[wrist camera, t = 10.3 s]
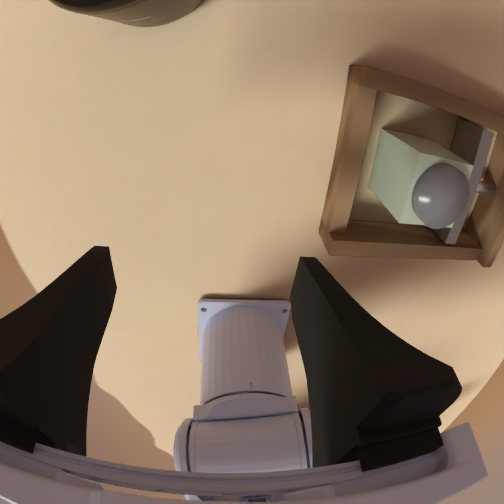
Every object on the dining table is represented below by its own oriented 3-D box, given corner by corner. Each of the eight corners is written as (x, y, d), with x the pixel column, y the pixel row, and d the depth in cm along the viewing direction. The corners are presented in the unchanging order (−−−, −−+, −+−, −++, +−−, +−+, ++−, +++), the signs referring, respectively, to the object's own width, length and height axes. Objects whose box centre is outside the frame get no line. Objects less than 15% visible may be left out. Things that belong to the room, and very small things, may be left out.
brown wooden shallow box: (468, 241, 25) (490, 267, 22) (318, 231, 23) (332, 264, 20) (508, 122, 18) (540, 138, 15) (349, 64, 16) (376, 68, 13)
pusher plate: (464, 227, 24) (482, 246, 21) (427, 223, 23) (444, 243, 21) (496, 133, 19) (519, 146, 16) (458, 118, 18) (483, 129, 16)
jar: (416, 193, 22) (458, 234, 17) (367, 186, 21) (404, 230, 17) (431, 139, 19) (481, 171, 14) (380, 128, 19) (427, 157, 14)
